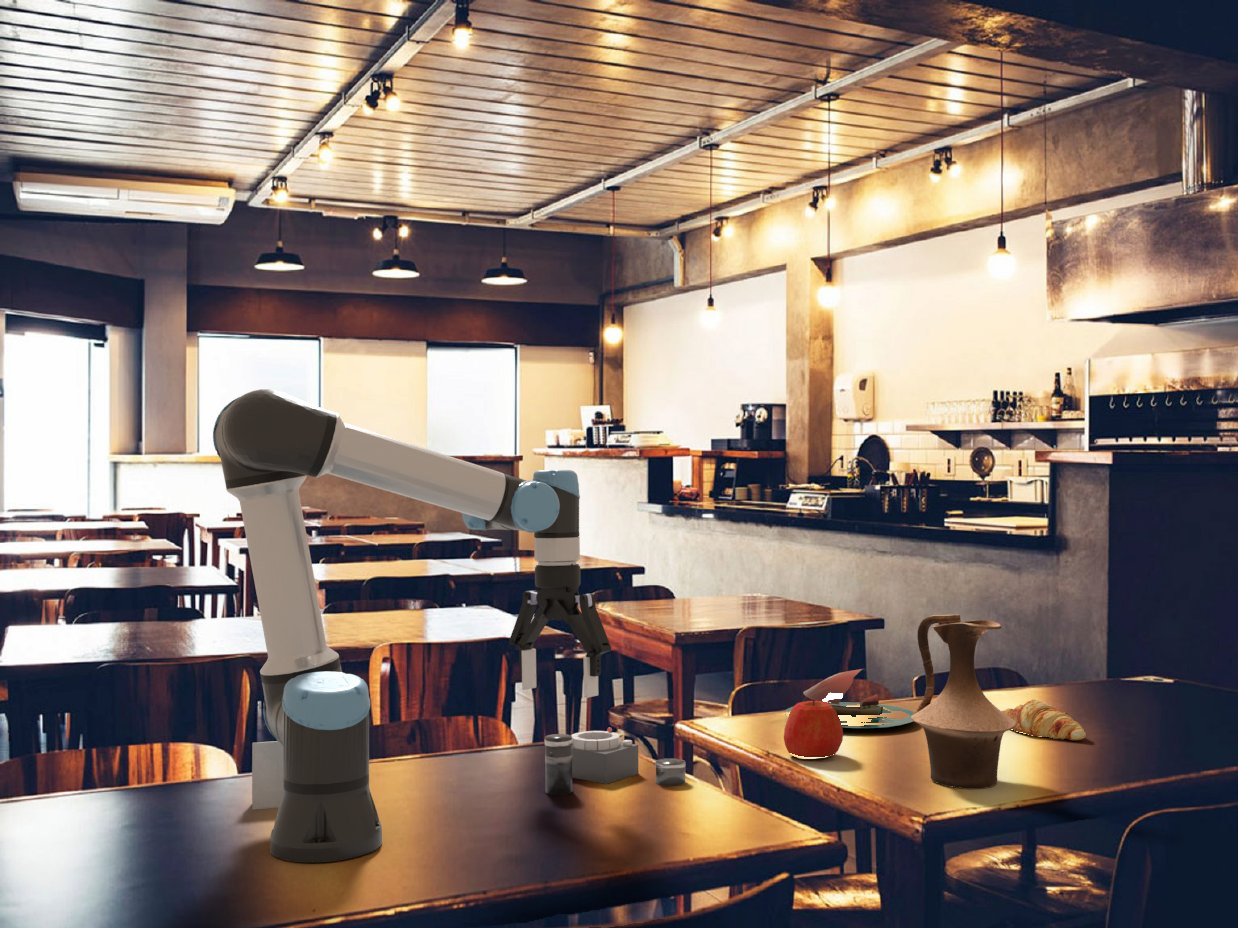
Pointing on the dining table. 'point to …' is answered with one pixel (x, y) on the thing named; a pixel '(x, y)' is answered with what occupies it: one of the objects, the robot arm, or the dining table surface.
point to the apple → (813, 730)
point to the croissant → (1045, 721)
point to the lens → (558, 764)
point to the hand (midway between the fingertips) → (559, 692)
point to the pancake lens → (670, 772)
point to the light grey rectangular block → (267, 775)
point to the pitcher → (960, 709)
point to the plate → (836, 689)
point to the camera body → (603, 756)
